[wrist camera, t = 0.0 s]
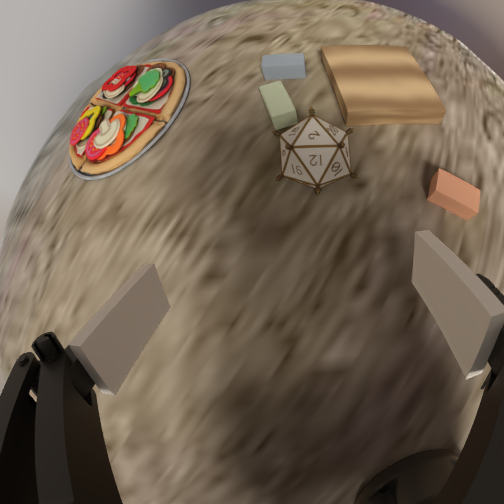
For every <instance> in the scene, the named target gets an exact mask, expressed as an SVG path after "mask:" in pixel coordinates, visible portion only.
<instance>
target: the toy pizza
mask: <svg viewBox="0 0 504 504" xmlns="http://www.w3.org/2000/svg"><path fill="white" fill-rule="evenodd" d="M189 87H190V77H189V73H188V70H187V69H186V67H185V66H184V65H183V64H182V63H180V62H178V61H176V60H173V59H165V58H164V59H154V60H149V61H146V62H143V63H140V64H138V65H136V66H125V67H123V68H121V69H120V70H118V71H117V72H116V73H115V74H113V75H112V77H111V78H109V79H108V80H107V81H106V82H105V83H104V84H103V86H102V87H101V88H100V89H99V90H98V92H97V93H96V94H95V95H94V97H93V98H92V99H91V101H90V103H89V104H88V105H87V107H86V108H85V109H84V111H83V113H82V114H81V116H80V118H79V120H78V122H77V124H76V126H75V128H74V129H73V131H72V134H71V137H70V145H69V154H68V156H69V164H70V167H71V169H72V171H73V172H74V174H75V175H77V176H78V177H80V178H82V179H85V180H96V179H101V178H104V177H107V176H110V175H112V174H114V173H116V172H118V171H120V170H122V169H123V168H125V167H127V166H128V165H130V164H131V163H132V162H134V161H135V160H136V159H138V158H139V157H140V156H141V155H143V154H144V153H145V152H146V151H147V150H148V149H149V148H150V147H151V146H153V145H154V144H155V143H156V142H157V141H158V139H159V138H160V137H161V136H162V135H163V134H164V133H165V132H166V130H167V129H168V128H169V127H170V125H171V124H172V123H173V121H174V120H175V119H176V117H177V115H178V114H179V112H180V111H181V109H182V107H183V105H184V103H185V100H186V98H187V95H188V92H189Z"/></svg>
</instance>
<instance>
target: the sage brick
mask: <svg viewBox="0 0 504 504" xmlns="http://www.w3.org/2000/svg"><path fill="white" fill-rule="evenodd" d="M259 89H260V92H261V95H262V99H263V101H264V104H265V106H266V108H267V111H268V113H269V116H270V118H271V120H272V123H273V125H274V128H275V130H278V129H282V128H285V127H289V126H292V125H296V124H297V123H298V121H297V114H296V109H295V107H294V105H293V103H292V102H291V100H290V98H289V96H288V94H287V92H286V90H285V88H284V86H283V84H282V82H281V81H277V82H273V83H270V84H266V85H263V86H260V87H259Z"/></svg>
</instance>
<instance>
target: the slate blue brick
mask: <svg viewBox="0 0 504 504" xmlns="http://www.w3.org/2000/svg"><path fill="white" fill-rule="evenodd" d="M261 67H262V71H263V74H264V78H265V80H274V79H298V78H306V66H305V58H304V53H292V54H274V55H263V58H262V66H261Z"/></svg>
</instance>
